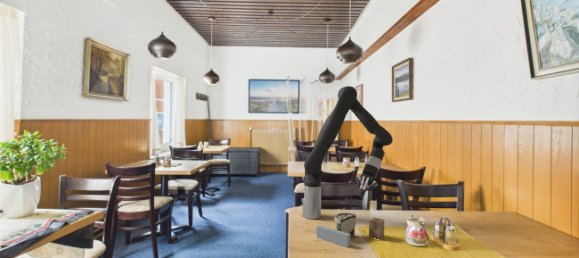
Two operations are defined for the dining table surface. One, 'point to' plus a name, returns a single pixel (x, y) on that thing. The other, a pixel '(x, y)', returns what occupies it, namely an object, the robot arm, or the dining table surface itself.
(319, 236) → the rail
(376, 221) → the walnut block
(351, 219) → the food container
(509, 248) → the dining table surface
